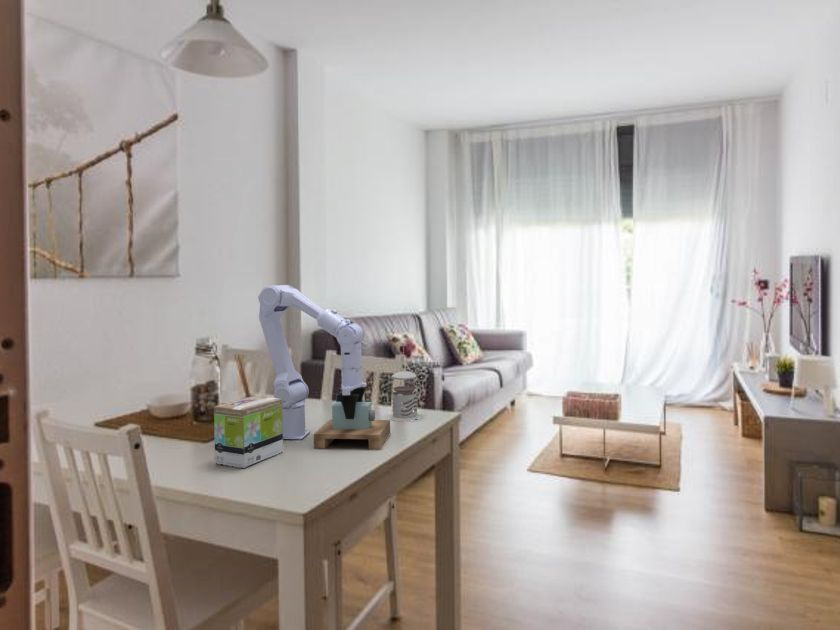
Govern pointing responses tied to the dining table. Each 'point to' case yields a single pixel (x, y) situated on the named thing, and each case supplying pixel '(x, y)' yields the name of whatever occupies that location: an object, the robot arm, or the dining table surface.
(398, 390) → the french press
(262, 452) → the tea box
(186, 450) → the dining table surface
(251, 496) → the dining table surface
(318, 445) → the stand
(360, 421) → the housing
